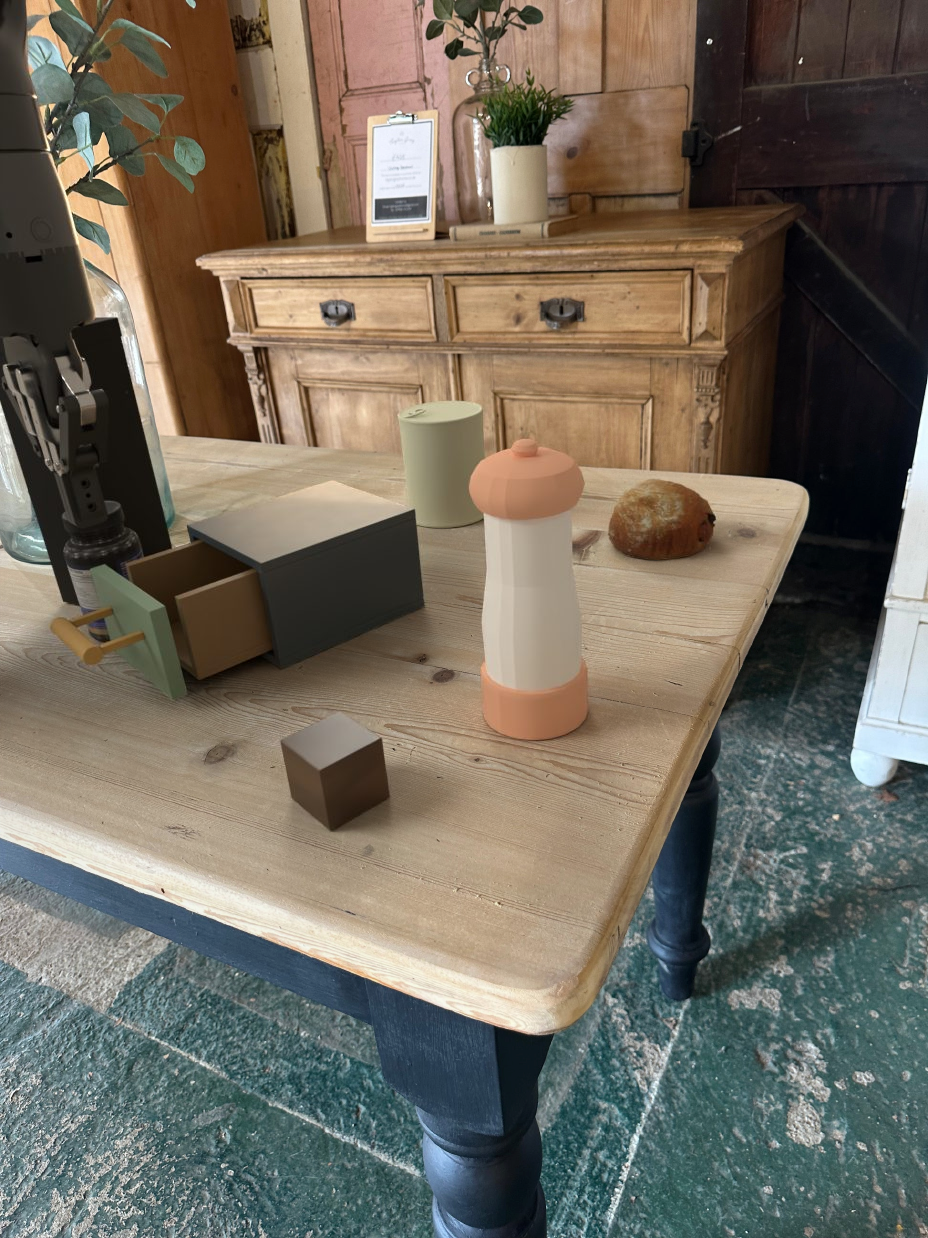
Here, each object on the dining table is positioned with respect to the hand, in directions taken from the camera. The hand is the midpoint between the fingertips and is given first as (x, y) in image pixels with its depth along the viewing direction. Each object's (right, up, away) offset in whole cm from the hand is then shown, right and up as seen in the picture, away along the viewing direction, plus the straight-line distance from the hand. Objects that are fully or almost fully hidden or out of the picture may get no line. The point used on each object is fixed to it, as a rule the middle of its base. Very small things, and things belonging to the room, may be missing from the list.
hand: (89, 522), depth 58 cm
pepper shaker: (+30, -13, +2) cm, 33 cm away
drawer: (+4, -9, +11) cm, 15 cm away
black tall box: (-8, -4, +26) cm, 27 cm away
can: (+24, +5, +39) cm, 45 cm away
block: (+18, -17, -5) cm, 25 cm away
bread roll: (+45, +1, +27) cm, 52 cm away
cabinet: (+12, -6, +18) cm, 23 cm away
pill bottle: (-5, -7, +18) cm, 20 cm away
